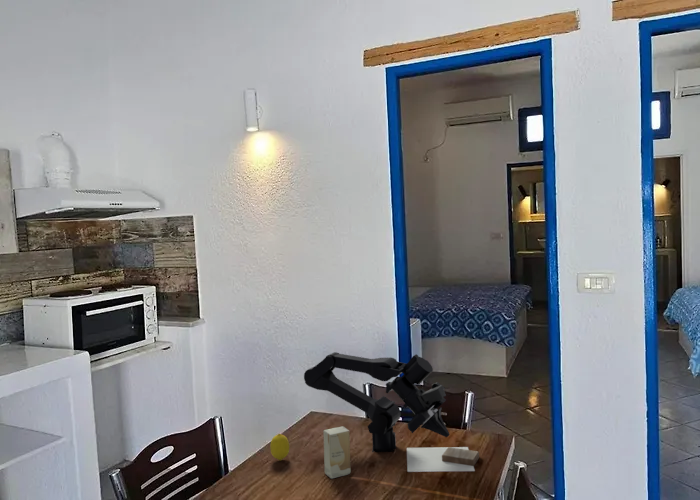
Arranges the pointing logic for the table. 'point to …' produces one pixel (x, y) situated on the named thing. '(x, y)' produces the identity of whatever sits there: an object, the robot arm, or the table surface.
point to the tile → (460, 456)
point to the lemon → (279, 446)
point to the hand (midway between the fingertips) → (448, 435)
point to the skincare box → (337, 452)
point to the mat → (432, 460)
